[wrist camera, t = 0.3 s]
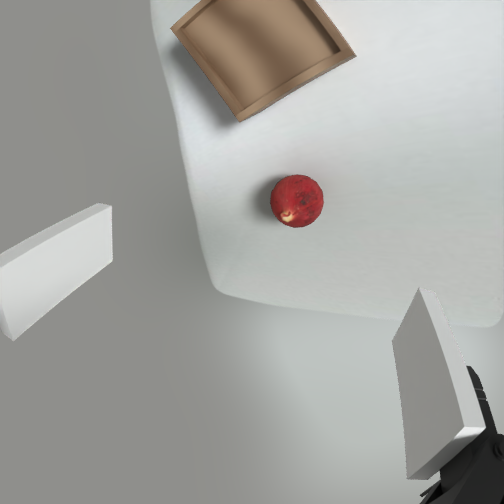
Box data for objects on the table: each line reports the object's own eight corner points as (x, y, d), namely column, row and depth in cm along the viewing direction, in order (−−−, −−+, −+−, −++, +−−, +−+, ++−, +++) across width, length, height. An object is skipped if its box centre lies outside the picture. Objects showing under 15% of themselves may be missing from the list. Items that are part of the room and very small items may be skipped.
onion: (309, 156, 35) (293, 181, 29) (336, 196, 37) (327, 229, 30) (271, 180, 38) (248, 208, 32) (298, 217, 40) (281, 251, 34)
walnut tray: (286, -34, 23) (269, -50, 18) (356, 56, 27) (354, 54, 22) (198, 30, 30) (170, 28, 25) (259, 112, 34) (239, 122, 29)
